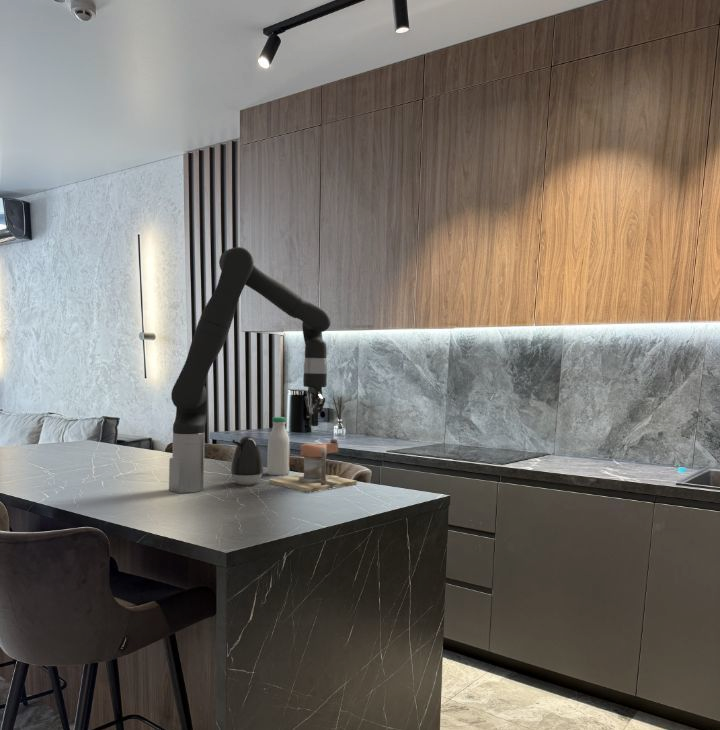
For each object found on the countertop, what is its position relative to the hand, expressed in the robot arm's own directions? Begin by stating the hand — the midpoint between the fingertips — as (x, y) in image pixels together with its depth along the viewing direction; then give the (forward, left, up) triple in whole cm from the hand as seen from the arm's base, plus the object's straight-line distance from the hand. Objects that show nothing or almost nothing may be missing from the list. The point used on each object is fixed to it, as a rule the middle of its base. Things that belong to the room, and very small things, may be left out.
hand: (314, 425), depth 191 cm
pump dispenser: (-16, +14, -19) cm, 28 cm away
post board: (0, 0, -19) cm, 19 cm away
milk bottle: (+3, +22, -19) cm, 29 cm away
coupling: (+3, 0, -9) cm, 10 cm away
